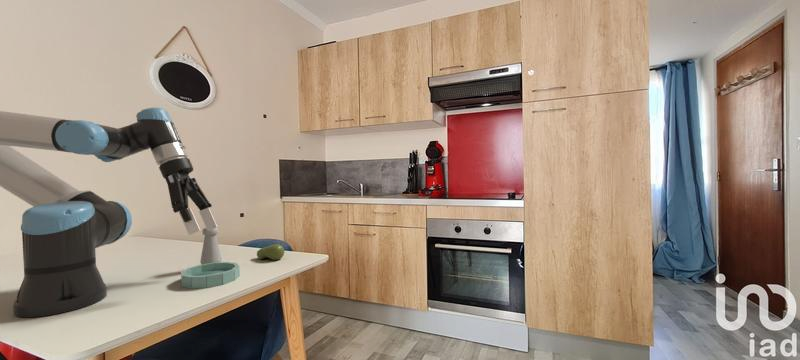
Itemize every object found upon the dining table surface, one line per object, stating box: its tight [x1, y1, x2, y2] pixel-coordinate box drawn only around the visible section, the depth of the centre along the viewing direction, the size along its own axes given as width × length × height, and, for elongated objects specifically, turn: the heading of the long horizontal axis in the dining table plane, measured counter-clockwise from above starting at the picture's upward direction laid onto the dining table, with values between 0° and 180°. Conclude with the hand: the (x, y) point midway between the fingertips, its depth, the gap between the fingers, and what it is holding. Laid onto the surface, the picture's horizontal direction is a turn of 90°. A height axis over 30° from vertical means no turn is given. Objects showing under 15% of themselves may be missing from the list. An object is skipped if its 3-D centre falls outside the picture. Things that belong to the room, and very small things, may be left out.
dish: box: [180, 261, 240, 289], centre depth 93 cm, size 14×14×3 cm
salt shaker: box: [200, 227, 222, 265], centre depth 104 cm, size 6×6×13 cm
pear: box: [256, 243, 285, 261], centre depth 114 cm, size 6×5×10 cm
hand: (204, 230), depth 93 cm, fingers open, 13 cm apart
